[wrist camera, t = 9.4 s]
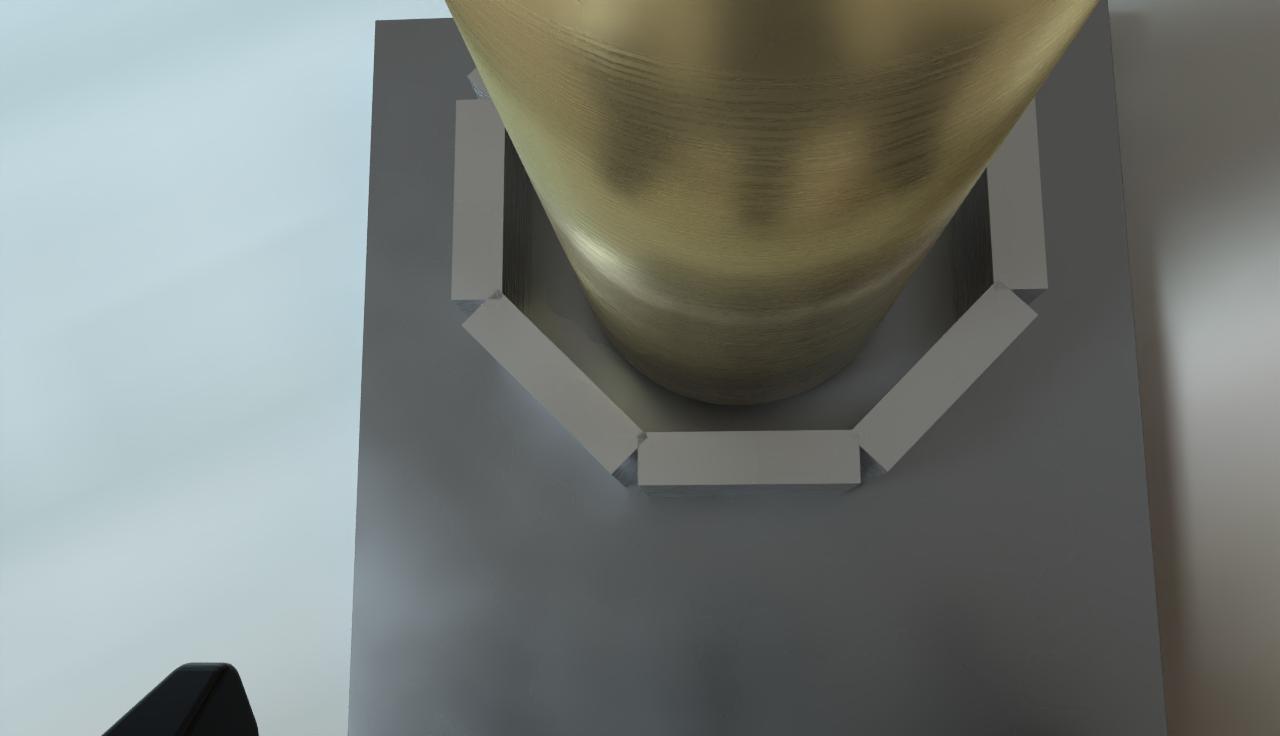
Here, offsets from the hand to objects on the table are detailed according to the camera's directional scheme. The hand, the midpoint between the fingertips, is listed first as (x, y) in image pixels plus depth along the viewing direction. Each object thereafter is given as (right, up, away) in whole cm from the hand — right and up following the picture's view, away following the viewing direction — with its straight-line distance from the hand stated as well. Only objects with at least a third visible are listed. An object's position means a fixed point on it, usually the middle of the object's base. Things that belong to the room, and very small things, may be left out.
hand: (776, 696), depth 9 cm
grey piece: (+1, +1, +9) cm, 9 cm away
